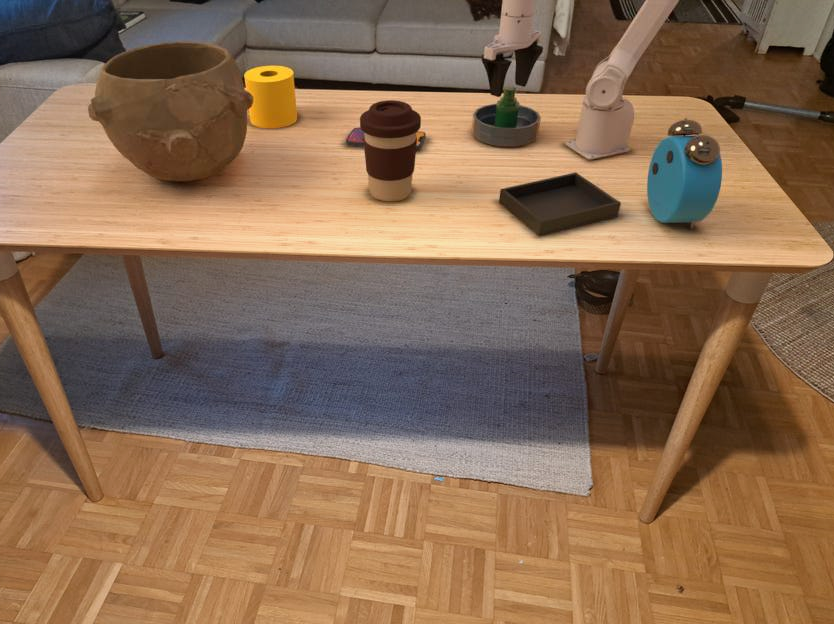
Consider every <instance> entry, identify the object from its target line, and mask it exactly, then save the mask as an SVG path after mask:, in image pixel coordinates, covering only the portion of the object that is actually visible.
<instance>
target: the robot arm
mask: <svg viewBox="0 0 834 624" xmlns="http://www.w3.org/2000/svg"><path fill="white" fill-rule="evenodd" d="M679 1H680V0H645V1H644V3H643V4H642V5H641V7H640V9H638V12H637V14H635V16H634V18H633V20H632V21H631V23H630V24H629V26H628V28H626V30H625V32H624V33H623V34H622V37H621V38H620V40H619V41H618V43H617V44H616V45H615V46H614V47H613V49H612V51H611V52H610V54H609V55H608V56H607V57H606V58H603V60H601V61H600V62H599V63H597V64H596V66H594V69H593V72H592V76H591V77H590V79H589V81H588V82H587V85H586V87H585V96H584V97H583V100H582V106H581V110H580V111H581V112H580V116H579V120H578V121H579V122H578V126H577V131H576V136H575V137H576V138H575V139H574V140H570V141H566V142H564V144H565V146H567V147H568V148H569V149H570V150H573V151H574V152H576V153H577V154H579V155H581V156H582V157H584V158H585V159H587V160H589V161H592V160H597V159H600V158H606V157H610V156H614V155H619V154H623V153H624V154H625V153H628V152H630V151H631V149H630V148H629V147H628V145H629V143H630V142H629V141H630V137H631V133H632V129H633V126H634V125H633V124H634V120H635V108H634V106H633V103H632V102H631V101H630V99H627V98H623V93H624V89H625V85H626V84H627V81H628V79H629V77H630V76H631V75H632V72H633V70H634V68H635V67H636V66H637V64H638V62H639V60H640V59H641V57H642V56H643V54H644V53H645V51H646V50H647V49H648V47H649V45H650V44H651V43H652V41H653V39H654V38H655V37H656V35H657V34H658V32H659V31H660V29H661V28H662V26H663V25H664V23H665V22H666V21H667V19H668V18H669V16H670V14H671V13H672V11H673V10H674V9H675V7H676V6H677V4H678V3H679ZM501 2H502V3H501V11H500V22H499V31H498V34H496V35H494V38H493V42H491V43H490V44H488V45H487V46H484V49H483V51H484V52H483V53H482V54H481V63H482V64H483V67H484V70H485V72H486V76H487V79H488V80H487V81H488V86H489V92H490V96H493V97H497V98H501V97H502V94H503V93H504V88H505V87H504V86H505V81H506V77H507V73H508V71H509V69H510V67H511V64H512V63H513V61H512V60H509V59H506V57H505V56H504V55H506V54H509V53H511V52H514V59H515V70H514V71H515V72H514V82H515V85H516V86H520V87H523V88H524V87H526V86H527V84H528V82H529V80H530V76H531V74H532V72H533V68H534V67H535V65H536V63H537V61H538V59H539V58H540V56H541V55H542V54H543V51H544V47H543V46H541V45H538V44H541V43H542V38H543V31H539V30H536V29H535V30H534V29H533V23H534V14H535V6H536V0H502V1H501ZM532 29H533V30H532Z"/></svg>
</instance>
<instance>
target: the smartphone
mask: <svg viewBox="0 0 834 624" xmlns="http://www.w3.org/2000/svg"><path fill="white" fill-rule="evenodd" d="M426 135H427V134H426V132H425V131H422V130H421V131H420V130H418V131H417V132H416V137H417V146H416V152H417V151H419V150H421V148H422V147H423V144H424V142H425V140H426V138H427V136H426ZM364 137H365V136H364V132H363V131H362V130H361V128H360V126H359V127H354V128H353V129H351V132H350V133H349V135H348V136H347V138H346V139H345V144H346V145H347V146H350V147H360V148H361V147H362V148H364Z"/></svg>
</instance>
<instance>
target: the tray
mask: <svg viewBox="0 0 834 624" xmlns="http://www.w3.org/2000/svg"><path fill="white" fill-rule="evenodd" d="M498 204H500V205H501V206H502V207H503V208H504V209H506V210H507V211H508V212H510V214H512V215H513V216H514V217H516V219H518V220H519V221H520V222H521V223H522V224H524V225H525V226H526V228H528V229H530V231H532V232H533V233H535V234H536V236H538V237H541V236H545V235H550V234H554V233H557V232H561V231H565V230H569V229H573V228H577V227H580V226H584V225H588V224H589V225H590V224H592V223H597V222H601V221H605V220H610V219H613V218H616V217H617V218H618V216H619V213H620V212H619V211H620V209H621V205H622V202H621V201H619V200H618V199H617V198H614V196H611V194H609V193H607V191H604V189H601V188H600V187H598V186H597V185H596V184H594V183H593V182H591V181H589V179H587V178H585V177H584V176H582V175H581V174H580V173H578V172H576V171H575V172H571V173H566V174H562V175H558V176H553V177H548V178H545V179H539V180H535V181H531V182H530V181H529V182H527V183H522V184H516V185H512V186H508V187H504V188H500V190H499V200H498Z"/></svg>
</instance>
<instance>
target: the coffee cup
mask: <svg viewBox="0 0 834 624" xmlns="http://www.w3.org/2000/svg"><path fill="white" fill-rule="evenodd" d="M421 122H422V117H421V115H420V113H418V111H416V110H413V108H412V106H411V105H410V104H409V103H407V102H405V101H401V100H393V99H391V100H390V99H389V100H381V101H377V102H375V103H372V104H371V105H370V106H369V108H368V110H366V111H364V112H363V113H362V114H361V115H360V117H359V127H360V128H361V130H362V131H363V132H364V136H365V137H364V147H363V149H364V161H365V170H366V173H367V179H368V190H369V194H370V195H371V196H372V197H373V198H374V199H376V200H378V201H383V202H398V201H401V200H404V199H407V197H409V195H410V194H411V192H412V183H413V174H414V172H415V166H416V156H417V151H416V146H417V137H416V132H417V131H420V129H421V126H422V123H421Z"/></svg>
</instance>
